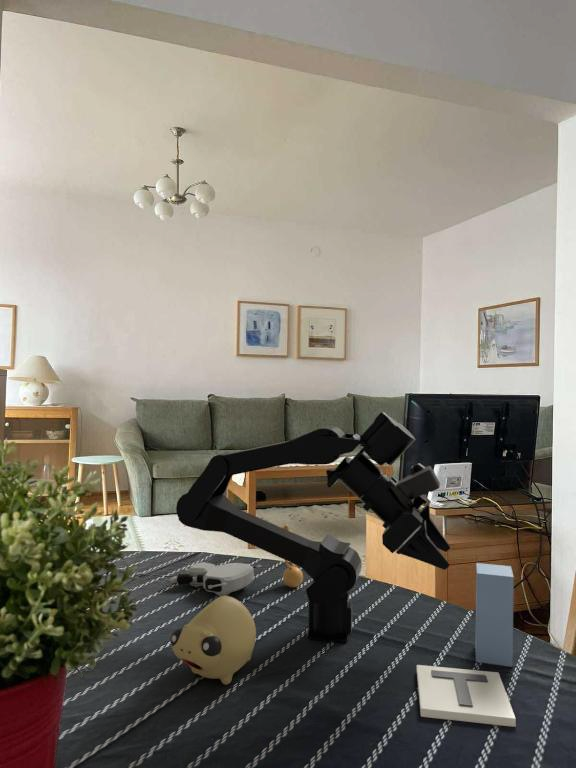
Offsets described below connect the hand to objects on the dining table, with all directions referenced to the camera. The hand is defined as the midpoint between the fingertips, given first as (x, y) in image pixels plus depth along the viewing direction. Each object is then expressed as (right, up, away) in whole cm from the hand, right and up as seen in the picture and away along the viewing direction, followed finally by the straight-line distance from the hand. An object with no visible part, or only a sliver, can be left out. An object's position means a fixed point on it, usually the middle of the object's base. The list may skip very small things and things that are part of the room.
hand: (448, 558), depth 88 cm
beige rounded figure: (-35, -14, -9) cm, 38 cm away
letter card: (-2, -14, -13) cm, 19 cm away
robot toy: (-39, -14, +25) cm, 48 cm away
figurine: (-24, -14, +27) cm, 39 cm away
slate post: (+6, -14, -2) cm, 15 cm away
